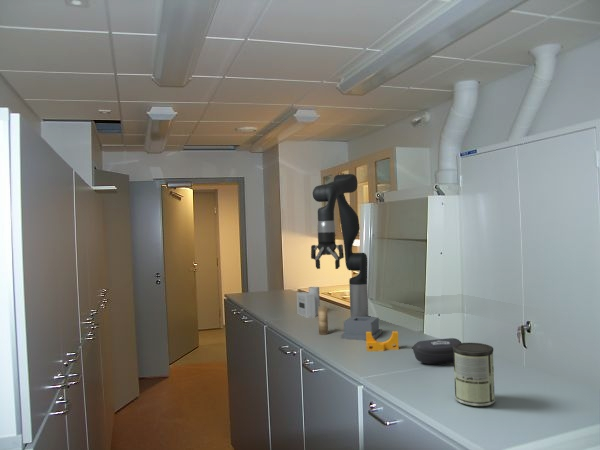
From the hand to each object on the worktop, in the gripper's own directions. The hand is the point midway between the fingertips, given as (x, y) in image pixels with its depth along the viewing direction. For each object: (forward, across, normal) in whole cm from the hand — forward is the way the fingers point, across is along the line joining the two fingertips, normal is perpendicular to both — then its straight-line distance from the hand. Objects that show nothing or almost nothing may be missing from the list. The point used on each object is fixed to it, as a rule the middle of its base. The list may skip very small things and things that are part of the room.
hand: (327, 268), depth 209 cm
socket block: (+29, -13, -5) cm, 32 cm away
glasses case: (+30, -49, +26) cm, 63 cm away
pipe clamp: (+30, -27, +15) cm, 43 cm away
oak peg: (+29, +4, -3) cm, 30 cm away
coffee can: (+30, -63, +59) cm, 91 cm away
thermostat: (+30, +25, -44) cm, 59 cm away
